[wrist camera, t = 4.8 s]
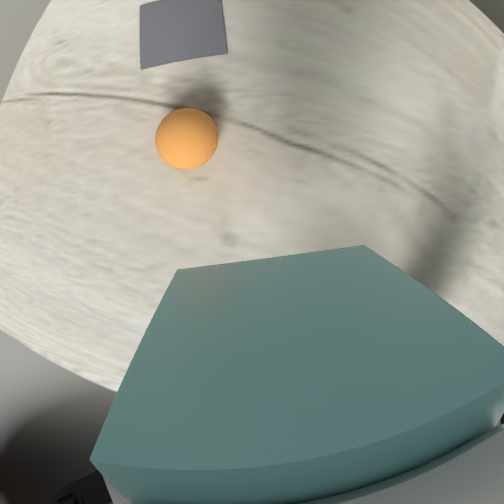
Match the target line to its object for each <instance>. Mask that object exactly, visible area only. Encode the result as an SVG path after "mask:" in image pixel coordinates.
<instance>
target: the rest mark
mask: <svg viewBox="0 0 504 504" xmlns="http://www.w3.org/2000/svg"><path fill="white" fill-rule="evenodd" d="M220 54H227V46H226V38H225V29H224V21H223V13H222V4H221V0H160V1H156V2H152V3H148V4H144V5H141V6H140V63H141V70H142V69H146V68H150V67H154V66H159V65H163V64H168V63H172V62H177V61H182V60H188V59H193V58H199V57H206V56H213V55H220Z"/></svg>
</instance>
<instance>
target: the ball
mask: <svg viewBox="0 0 504 504" xmlns="http://www.w3.org/2000/svg"><path fill="white" fill-rule="evenodd" d="M155 144H156V148H157V151H158V153H159V155H160V157H161V158H162V159H163V160H164V161H165V162H166V163H167V164H169V165H170V166H172V167H175V168H178V169H193V168H196V167H199V166H201V165H203V164H204V163H206V162H207V161H208V160H209V159H210V158H211V157H212V155H213V154H214V152H215V150H216V148H217V144H218V130H217V127H216V125H215V123H214V121H213V120H212V119H211V118H210V116H208V115H207V114H206V113H204V112H203V111H201V110H198V109H194V108H182V109H178V110H175V111H173V112H171V113H170V114H168V115H167V116H166V117H165V118H164V119H163V120H162V121H161V123H160V124H159V126H158V129H157V131H156V136H155Z"/></svg>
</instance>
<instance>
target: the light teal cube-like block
mask: <svg viewBox="0 0 504 504" xmlns="http://www.w3.org/2000/svg"><path fill="white" fill-rule="evenodd" d="M503 413H504V346H503V345H502V344H500V343H499V342H498V341H497V340H495V339H494V338H493V337H492V336H490V335H489V334H488V333H487V332H485V331H484V330H483V329H482V328H480V327H479V326H478V325H477V324H475V323H474V322H473V321H471V320H470V319H469V318H468V317H466V316H465V315H464V314H462V313H461V312H460V311H458V310H457V309H456V308H454V307H453V306H452V305H450V304H449V303H448V302H446V301H445V300H444V299H442V298H441V297H439V296H438V295H437V294H435V293H434V292H432V291H431V290H430V289H428V288H427V287H425V286H424V285H423V284H421V283H420V282H418V281H417V280H416V279H414V278H413V277H411V276H410V275H408V274H407V273H405V272H404V271H402V270H401V269H400V268H398V267H397V266H395V265H394V264H392V263H391V262H389V261H388V260H386V259H385V258H383V257H382V256H380V255H379V254H377V253H375V252H374V251H372V250H371V249H369V248H368V247H366V246H365V245H362V246H355V247H347V248H340V249H333V250H325V251H318V252H311V253H303V254H296V255H288V256H281V257H273V258H265V259H258V260H250V261H242V262H235V263H227V264H219V265H211V266H203V267H195V268H187V269H179V270H177V271H176V273H175V275H174V277H173V279H172V281H171V283H170V285H169V286H168V288H167V290H166V292H165V294H164V296H163V298H162V300H161V302H160V304H159V306H158V308H157V310H156V312H155V314H154V316H153V318H152V320H151V322H150V324H149V326H148V328H147V330H146V332H145V334H144V336H143V338H142V340H141V342H140V344H139V346H138V349H137V351H136V353H135V355H134V357H133V359H132V361H131V363H130V366H129V368H128V370H127V372H126V374H125V376H124V379H123V381H122V383H121V385H120V388H119V390H118V392H117V394H116V397H115V399H114V401H113V404H112V406H111V408H110V410H109V413H108V415H107V418H106V420H105V422H104V425H103V427H102V430H101V432H100V435H99V437H98V440H97V442H96V444H95V447H94V450H93V452H92V455H91V457H90V461H91V462H92V463H93V465H94V466H95V467H96V468H97V469H98V471H99V472H100V473H101V474H102V475H103V476H104V477H105V478H106V479H107V480H108V482H109V483H110V484H111V485H112V486H113V487H114V488H115V489H116V490H117V491H118V492H119V493H120V494H121V495H122V496H123V497H124V498H125V499H126V500H127V501H128V502H129V503H130V504H298V503H303V502H309V501H314V500H318V499H323V498H327V497H331V496H335V495H339V494H343V493H347V492H350V491H354V490H357V489H361V488H364V487H367V486H370V485H373V484H376V483H379V482H382V481H385V480H387V479H390V478H393V477H395V476H398V475H401V474H403V473H406V472H408V471H410V470H413V469H415V468H417V467H420V466H422V465H424V464H426V463H429V462H431V461H433V460H435V459H437V458H439V457H441V456H443V455H445V454H447V453H449V452H451V451H453V450H455V449H457V448H458V447H460V446H462V445H464V444H466V443H468V442H469V441H471V440H473V439H475V438H476V437H478V436H480V435H482V434H484V433H485V432H487V431H489V430H491V429H493V428H495V427H496V425H497V424H498V422H499V420H500V419H501V417H502V415H503Z"/></svg>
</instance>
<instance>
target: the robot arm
mask: <svg viewBox="0 0 504 504" xmlns="http://www.w3.org/2000/svg"><path fill="white" fill-rule="evenodd" d="M52 504H130V503H129V502H128V501H127V500H126V499H125V498H124V497H123V496H122V495H121V494H120V493H119V492H118V491H117V490H116V489H115V488H114V487H113V486H112V485H111V484H110V483H109V482H108V480H107V479H106V478H105V477H104V476H103V475H102V474H101V473H100V472H99V471H98V470H97V471H95V472H93V473H91V474H89V475H87V476H85V477H83V478H81V479H79V480H77V481H75V482H73V483H71V484H69V485H67V486H65V487H63V488H61V489H59V490H58V491H57V492H56V493H55V494H54V495H53V498H52ZM298 504H504V413H503V415H502V417H501V419H500V420H499V422H498V424H497V425H496V427H495V428H493V429H491V430H489V431H487V432H485V433H484V434H482V435H480V436H478V437H476V438H475V439H473V440H471V441H469V442H468V443H466V444H464V445H462V446H460V447H458V448H457V449H455V450H453V451H451V452H449V453H447V454H445V455H443V456H441V457H439V458H437V459H435V460H433V461H431V462H429V463H426V464H424V465H422V466H420V467H417V468H415V469H413V470H410V471H408V472H406V473H403V474H401V475H398V476H395V477H393V478H390V479H387V480H385V481H382V482H379V483H376V484H373V485H370V486H367V487H364V488H361V489H357V490H354V491H350V492H347V493H343V494H339V495H335V496H331V497H327V498H323V499H318V500H314V501H309V502H303V503H298Z"/></svg>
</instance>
